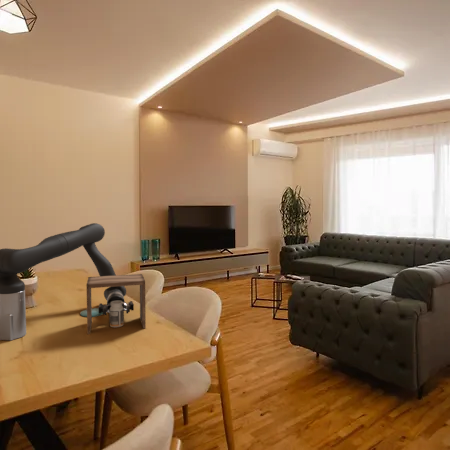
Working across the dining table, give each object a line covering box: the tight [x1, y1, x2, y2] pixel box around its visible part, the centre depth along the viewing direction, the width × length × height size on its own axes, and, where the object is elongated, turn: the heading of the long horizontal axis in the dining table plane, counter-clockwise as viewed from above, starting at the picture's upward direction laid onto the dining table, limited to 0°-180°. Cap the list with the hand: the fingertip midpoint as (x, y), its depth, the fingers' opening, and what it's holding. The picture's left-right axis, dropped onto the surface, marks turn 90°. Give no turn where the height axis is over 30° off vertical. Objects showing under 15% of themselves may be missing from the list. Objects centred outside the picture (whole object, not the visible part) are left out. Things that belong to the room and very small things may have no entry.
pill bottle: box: [108, 300, 125, 328], centre depth 146 cm, size 6×6×10 cm
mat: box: [79, 307, 103, 318], centre depth 162 cm, size 11×11×1 cm
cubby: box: [85, 273, 147, 335], centre depth 145 cm, size 14×22×20 cm, turn 108°
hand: (116, 312), depth 144 cm, fingers open, 8 cm apart
